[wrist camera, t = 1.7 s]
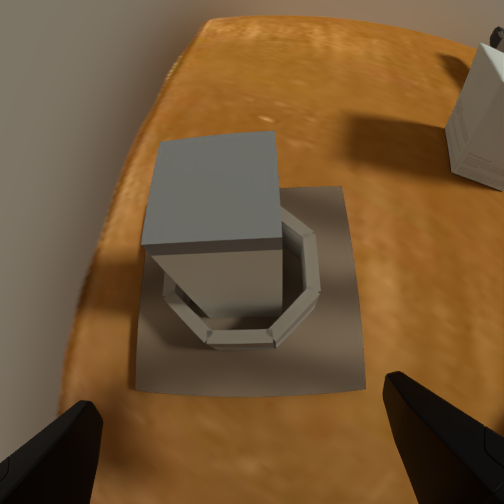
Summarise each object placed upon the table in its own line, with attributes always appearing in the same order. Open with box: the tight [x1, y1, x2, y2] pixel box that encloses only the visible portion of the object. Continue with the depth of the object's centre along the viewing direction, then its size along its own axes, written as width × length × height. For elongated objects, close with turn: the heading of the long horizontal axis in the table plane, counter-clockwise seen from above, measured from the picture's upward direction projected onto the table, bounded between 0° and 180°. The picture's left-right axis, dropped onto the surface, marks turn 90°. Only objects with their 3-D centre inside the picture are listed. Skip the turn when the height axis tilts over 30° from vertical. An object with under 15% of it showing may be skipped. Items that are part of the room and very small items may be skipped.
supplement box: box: [445, 43, 504, 191], centre depth 21 cm, size 7×7×13 cm
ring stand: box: [135, 186, 366, 397], centre depth 22 cm, size 16×16×5 cm
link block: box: [141, 131, 282, 318], centre depth 17 cm, size 5×5×12 cm
